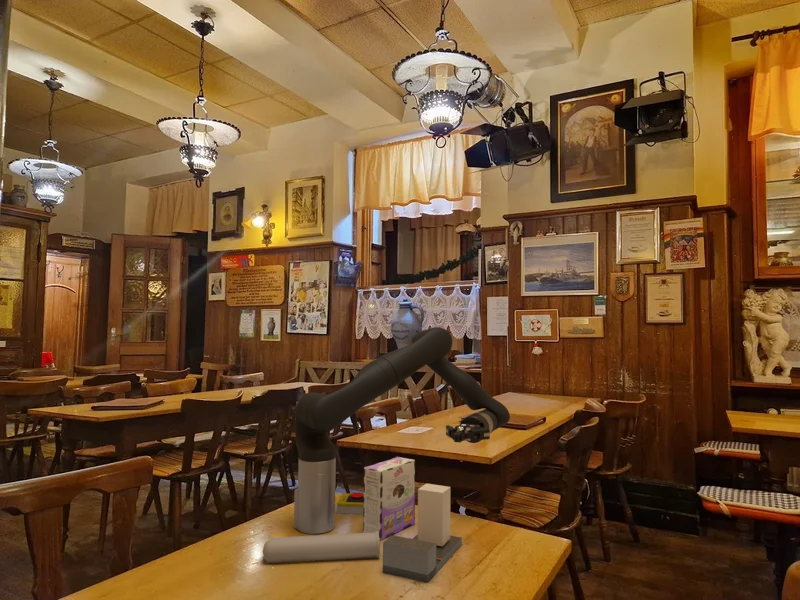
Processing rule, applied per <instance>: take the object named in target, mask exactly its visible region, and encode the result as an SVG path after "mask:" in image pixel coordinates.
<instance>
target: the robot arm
mask: <svg viewBox="0 0 800 600" xmlns="http://www.w3.org/2000/svg"><path fill="white" fill-rule="evenodd" d="M452 347H453V337H452V335H451V333H450V331H449V330H447V329H445V328H443V327H440V326H439V327H438V326H435V327H431V328H428V329H423V330H421V331H419V332H416V333H415V335H413V337H412V339H411V343H410V344H409V345H406V346H402V347H400V348H397V349H395V350H392V351H390V352H386V353H384V354H383V355H381V356H379V357H376V358H375V359H373V360H372V361H370V362H368V363H366V364H365V365H363V366H362V368H360V369H359V371H358V373H357V374H356V375H355V376H354V378H353V379H352V381H351V382H349V383H348V384H347V385H345V386H343V387H341V388H339V389H338V390H336V391H333V392H331V393H328V394H324V393H321V392H315V391H314V392H307V393H305V394H303V395H302V396H301V397H300V398H299V400H298V402H297V404H296V407H295V414H294V428H295V429H294V432H295V434H294V435H295V445H296V448H297V452H298V453H297V454H298V474H297V475H298V476H297V477H298V478H297V488H295V489H294V498H293V499H294V500H293V501H294V503H293V504H294V508H293V511H294V513H293V515H294V517H293V528H294V529H297V530H298V531H299V532H301V533H303V534H308V535H309V534H310V535H319V534H320V535H321V534H325V533H327V532H331V531H333V529H334V528H335V523H336V522H335V521H336V519H335V518H336V517H335V516H336V514H335V504H336V466H337V465H336V464H337V463H336V457H337V456H336V453H337V451H336V450H337V449H336V448H337V447H336V446H335V444H334V443H333V442H332V440H331V439H330V436H329V432H331V431H333V430H334V429H336V428H338V426H340V425H341V424H342V423H344V422H345V421H346V420H347V419H349V418H350V417H351V416H352V415H354V414H355V413H356V412H357V411H359V410H360V409H361V408H363V407H365V406H366V405H367V404H369V403H371V402H373V401H374V400H376V399H377V398H379V397H380V396H382V395H384V394H385V393H388V392H389V391H390V390H392V389H394V388H396V387H397V386H398V385H400V384H401V383H402V382H404V381H405V380H407V379H408V378H410V377H411V376H412V375H413V374H415V373H416V372H417V371H419V370H421V368H423V367H425V366H427V367H429V368H430V369H431V370H432V371H433V372H434V373H435V374H436V375H438V377H440V378H441V379H442V380H443V381H444V382H445V383H446V384H448V386H449V387H451V388H452V390H453V391H454V392H455V393H456V394H457V396H459V398H460V399H461V400H462V401H463V403H465V405H466V406H467V407H468V408H469V409H470V410H471V411H478V412H474V413H471V414H470V415H468V416H466V417H464V418H463V419H462V420H461V422H460V423H459V425H456V426H453V425H449V424H447V425H445V435H446V436H447V437H449V438H450V439H452V441H453V442H454V443H462V442H463V441H464V442H468V443H470V444H476V443H480V442H481V441H484V440H491V439H490V438H491V434H492V433H493V432H495V431H496V430H497V429H499V428H501V427H503V426H505V425H507V424H508V423H509V422H510V419H511V415H510V412H509V410H508V408H507V407H506V406H505V405H504V404H503V403H501V401H499V400H497V399H495V398H494V397H493V396H492V395H490V394H488V393H487V392H486V391H485V389H484V388H483V387H482V386H481V384H479V382H478V381H477V380H476V379H475V378H474V377H473V376H472V375H470V374H469V373H467V372H466V371H464V370H463V369H461V368H460V367H458V366H457V365H455V364H453V362H451V361H450V360H449V359H448V358H447V357H446V356H447V355H448V354H449V353H450V352H451V349H452ZM479 410H480V411H479Z"/></svg>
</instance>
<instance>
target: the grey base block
mask: <svg viewBox="0 0 800 600" xmlns="http://www.w3.org/2000/svg"><path fill="white" fill-rule="evenodd" d="M461 544H462V545H463V537H460V536H456V535H451V534H450V539H449V540H448V541H447V542H446V543H445V544H444V545H443V547H442V546H437V545H436V543H431V542H426V541H421V540H418V533H416V535H415V536H414V537H413V538H410V537H405V536H399V535H396V534H393V535H391V536H389V537H387V538H386V539H385V540H384V541H383V542H382V573H384V574H387V575H388V574H389V575H392V576H397V577H401V578H406V579H410V580H415V581H420V582H424V583H430V581H431V580H432V578H433V577H434V576H435V575H436V574H437V573H438V572H439V571H440V569H442V567H443V566H444V565H445V564H446V563H447V561H449V559H450V558H451V557H452V556H453V555H454V554H455V553H456V552H457V550H459V548H460V547H461V546H462V545H461Z"/></svg>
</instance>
